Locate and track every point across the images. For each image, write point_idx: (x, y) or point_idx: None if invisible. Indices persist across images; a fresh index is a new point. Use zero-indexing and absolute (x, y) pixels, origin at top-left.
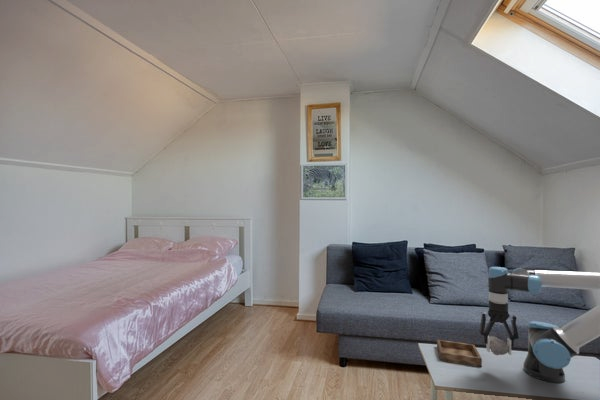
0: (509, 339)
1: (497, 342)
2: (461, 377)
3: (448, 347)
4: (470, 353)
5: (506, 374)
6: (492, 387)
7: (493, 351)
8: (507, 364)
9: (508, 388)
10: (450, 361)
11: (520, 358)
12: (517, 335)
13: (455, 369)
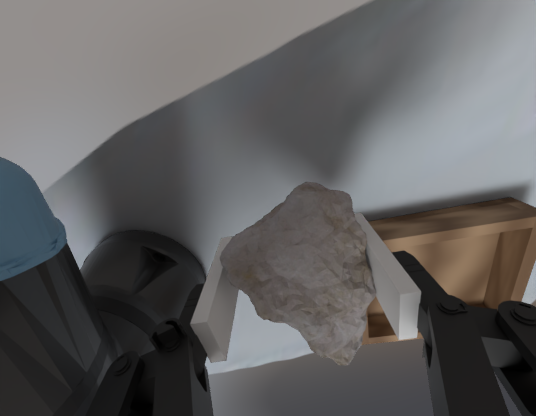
0: (205, 330)
1: (308, 285)
2: (455, 72)
3: None
4: None
5: (257, 213)
6: (321, 50)
7: (337, 191)
8: None
9: (254, 88)
10: (468, 206)
11: None
12: (103, 396)
13: (462, 146)
